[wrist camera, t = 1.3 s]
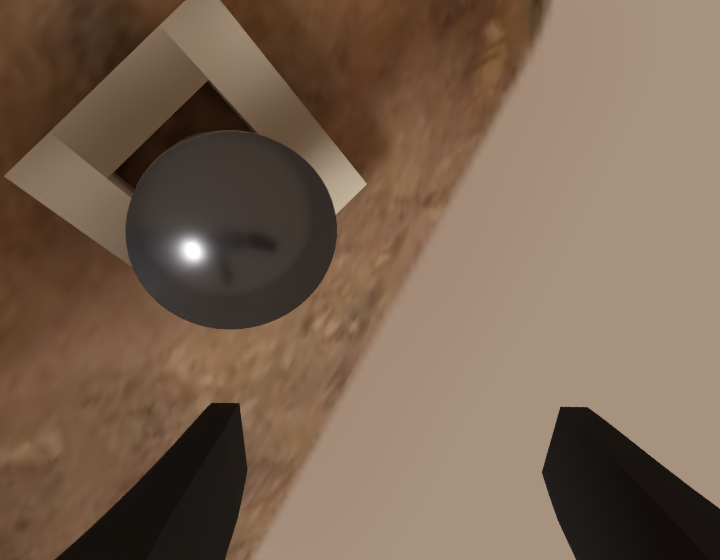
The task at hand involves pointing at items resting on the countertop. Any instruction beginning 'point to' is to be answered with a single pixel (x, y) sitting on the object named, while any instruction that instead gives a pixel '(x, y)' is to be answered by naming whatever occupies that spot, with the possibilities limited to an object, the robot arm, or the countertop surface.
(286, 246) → the pin
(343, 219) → the countertop surface
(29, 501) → the countertop surface
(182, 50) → the pin collar
